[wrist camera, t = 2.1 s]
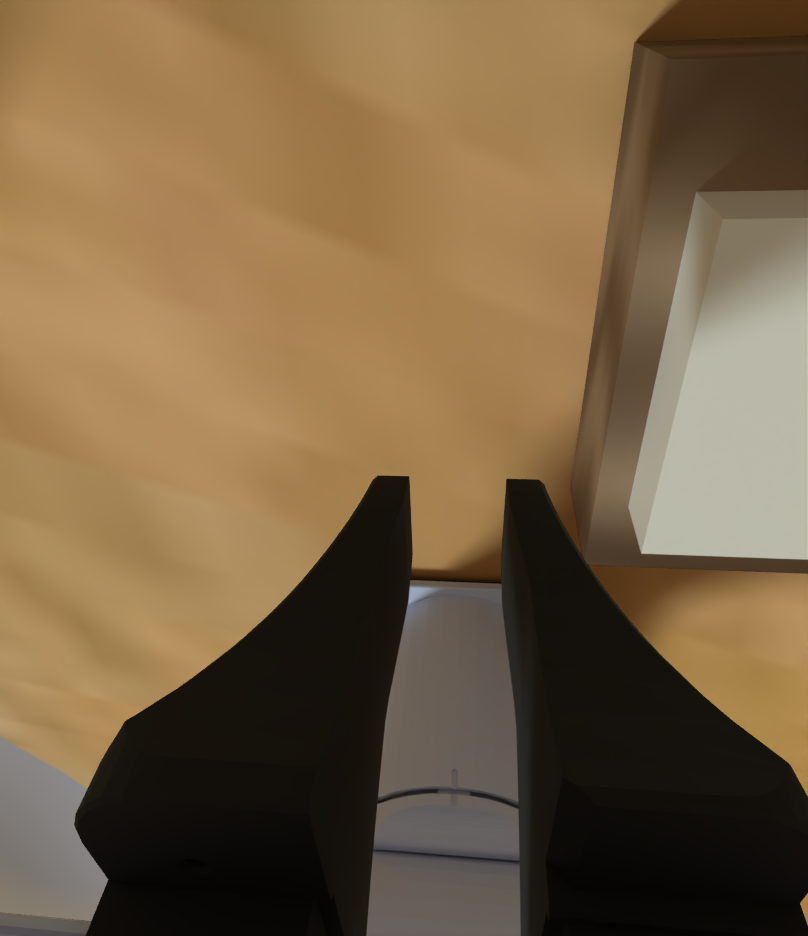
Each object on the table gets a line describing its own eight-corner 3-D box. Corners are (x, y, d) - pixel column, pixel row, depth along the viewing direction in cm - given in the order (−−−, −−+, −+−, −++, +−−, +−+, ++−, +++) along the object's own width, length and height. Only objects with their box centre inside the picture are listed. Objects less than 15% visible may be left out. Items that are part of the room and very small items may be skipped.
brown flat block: (855, 495, 24) (913, 577, 20) (570, 488, 25) (584, 565, 21) (1080, 25, 15) (1238, 40, 12) (634, 42, 16) (671, 59, 13)
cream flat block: (840, 512, 19) (872, 561, 18) (628, 506, 20) (641, 553, 18) (992, 187, 14) (1058, 215, 12) (696, 191, 14) (722, 218, 13)
